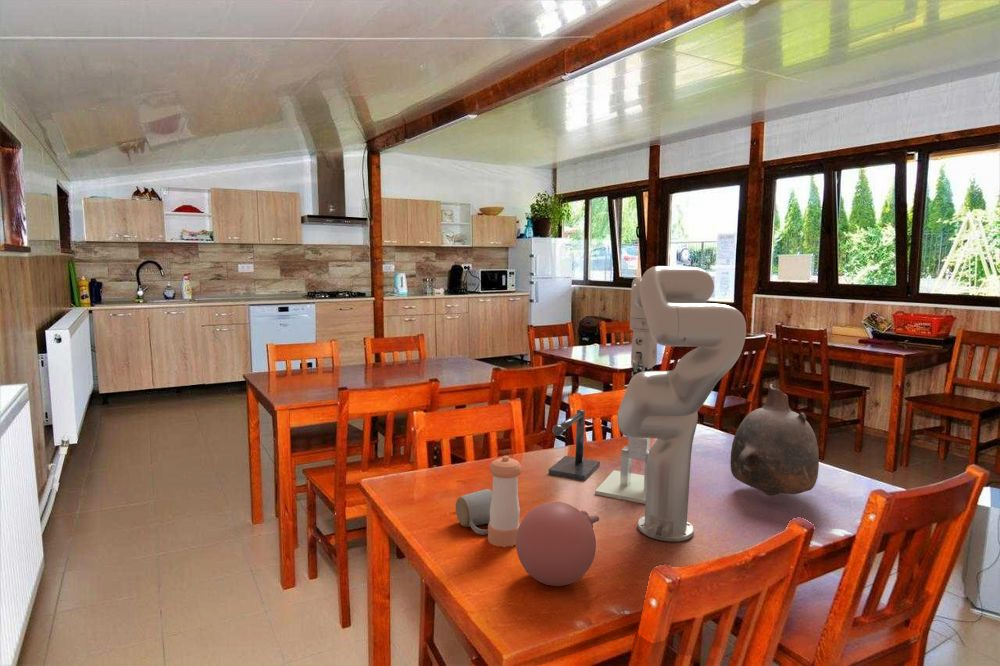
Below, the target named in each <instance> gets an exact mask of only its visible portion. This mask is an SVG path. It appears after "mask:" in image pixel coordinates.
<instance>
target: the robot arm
mask: <svg viewBox="0 0 1000 666" xmlns="http://www.w3.org/2000/svg"><path fill="white" fill-rule="evenodd" d="M714 290H715V283H714V280H713V277H712V276H711V274H709V272H707V271H706V270H704V269H702V268H700V267H696V266H673V265H672V266H669V265H668V266H667V265H656V266H651V267H650V268H648V269H646V271H645V272H644V273H643V275H642V277H636V278H634V279H633V280H632V282H631V292H630V293H631V296H630V317H629V319H630V320H629V321H630V322H629V330H630V331H632V338H631V339H632V340H631V341H632V342H631V351H630V352H631V353H630V363H631V367H632V369H631V378H630V381H629V383H628V385H627V387H626V390H625V392H624V394H623V396H622V399H621V402H620V404H619V407H618V412H617V425H618V428H619V430H620V432H621V434H623V435H624V436H625V437H626V438H628V437H629V438H650V439H656V440H655V442H654V443H653V444H652V445H651V446H650V451H649V454H648V461H647V480H646V501H645V504H644V516H641V517H640V518H639V519H638V520H637V529H638V531H640V532H641V534H643V535H645V536H646V537H649V538H652V539H654V540H658V541H663V542H673V543H675V542H682V541H687V540H689V539H690V538H693V535H694V530H695V529H694V526H693V525H692V523H690V522H689V521H688V514H689V513H688V512H689V497H690V496H689V495H690V494H689V492H690V478H691V477H690V476H691V464H692V463H691V462H692V449H693V443H694V437H695V433H696V430H697V426H698V420H699V414H698V411H699V410H700V409H701V408H702V407H703V405H704V404H705V402H706V401H707V399H708V398H709V396H710V394H711V393H712V391H713V390H714V388H715V386H716V385H718V382H719V381H720V380H721V379H722V378H723V377H724V376H725V375H726V374H727V373H728V372H729V371H730V370H731V369H732V368H733V367H734V365H736V362H737V361H738V359H739V358H740V355H741V354H742V351H743V349H744V346H745V342H746V338H747V337H746V336H747V323H746V319H745V316H744V315H743V313H742V312H741V311H740V310H738V309H737V308H735V307H734V306H730V305H727V304H722V303H713V302H712V303H711V302H708V301H709V300H710V299H711V297H712V296H713V293H714ZM658 345H660V346H663V347H688V348H689V347H693V349H691V350H690V351H689V352H687V353H686V354H684V355H683V356H682V357H681V358H680V359H679V360H678V361H677V363H676V365H675V367H674V369H673V370H654V368H653V367H655V366H656V365H657V361H658V359H657V358H658ZM694 347H695V348H694Z"/></svg>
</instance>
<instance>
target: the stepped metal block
mask: <svg viewBox="0 0 1000 666" xmlns="http://www.w3.org/2000/svg"><path fill="white" fill-rule="evenodd" d="M627 438H628V439H627V440H628V441H627V445H624V447H623V448H621V453H620V457H621V458H620V471H621V472H620V486H626V487H627V486H628V485H629V484H630V483H631V473H632V465H633V460H636V461H637V460H638V461H644V474H643V475H644V490H646V480H647V461H648V454H649V451H650V449H651V438H629V437H627Z"/></svg>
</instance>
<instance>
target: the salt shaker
mask: <svg viewBox="0 0 1000 666" xmlns="http://www.w3.org/2000/svg"><path fill="white" fill-rule="evenodd" d="M521 472H522V465H521V463H520V462H519V461H518V460H516V459H515V458H514V459H513V458H511V457H509V456H508V455H504V456H502V457H499V458H496V459H494V460H493V461H492V462H491V463H490V465H489V473H490V475H492V493H493V494H492V500H491V506H490V522H489V523H487V524H488V525H487V530H488V535H487V541H488V543H489V544H490V545H492V544H493V546H495V545H497V546H496V547H499V546H511V547H513V546H512V545H515V544H516V537H517V532H518V528H519V526H520V524H521V522H520V511H521V509H520V503H519V501H520V499H519V494H518V493H519V492H518V487H519V486H518V482H519V481H518V477H519V475H521ZM515 546H516V545H515Z"/></svg>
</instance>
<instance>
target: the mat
mask: <svg viewBox="0 0 1000 666" xmlns="http://www.w3.org/2000/svg"><path fill="white" fill-rule="evenodd" d="M620 472H621V470H615V469H614V470H613V471H611V473H610V474H609V475H608V476H607V477H606V478H605V479H604V481H602V483H601V484H600V485H599V486H598V487H597V489H596V490H594V493H595V494H594V495H598V496H600V497H601V496H602V497H607V498H613V499H617V500H622V499H623V500H622V501H627V500H628V502H633V503H637V504H643V505H645V501H646V490H644V474H638V473H634V472H631V483H630V484H629V485H628V486H627V487H626V486H620Z"/></svg>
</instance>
